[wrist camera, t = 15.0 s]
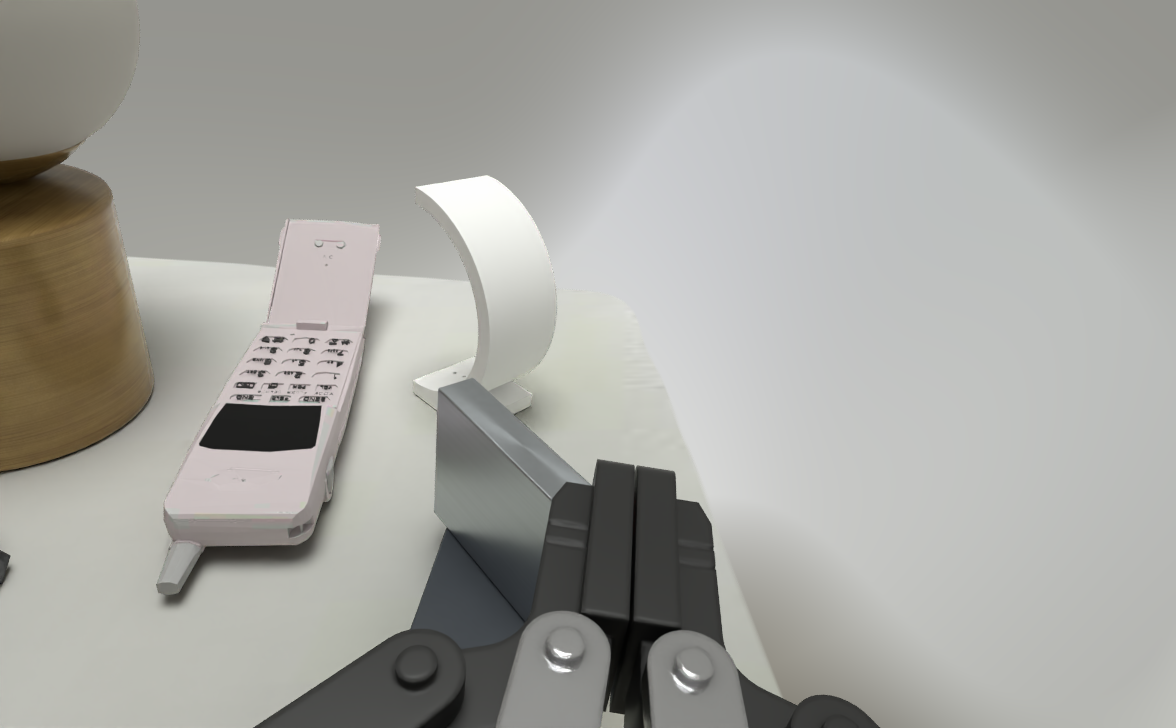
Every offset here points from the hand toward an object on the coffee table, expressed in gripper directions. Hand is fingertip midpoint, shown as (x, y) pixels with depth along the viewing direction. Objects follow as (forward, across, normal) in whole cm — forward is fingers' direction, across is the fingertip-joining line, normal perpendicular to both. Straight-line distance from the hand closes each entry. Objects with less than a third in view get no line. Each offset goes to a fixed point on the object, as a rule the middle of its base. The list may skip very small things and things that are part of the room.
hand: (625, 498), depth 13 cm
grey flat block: (+9, +3, +13) cm, 16 cm away
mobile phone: (+19, +16, +14) cm, 28 cm away
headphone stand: (+22, +7, +14) cm, 27 cm away
